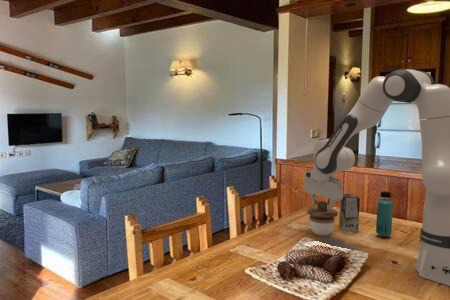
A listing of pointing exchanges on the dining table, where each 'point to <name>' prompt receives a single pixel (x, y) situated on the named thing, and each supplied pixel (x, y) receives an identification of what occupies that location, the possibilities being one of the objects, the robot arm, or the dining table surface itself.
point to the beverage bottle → (384, 215)
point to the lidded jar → (321, 225)
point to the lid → (322, 210)
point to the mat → (335, 243)
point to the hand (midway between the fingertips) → (322, 206)
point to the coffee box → (349, 213)
